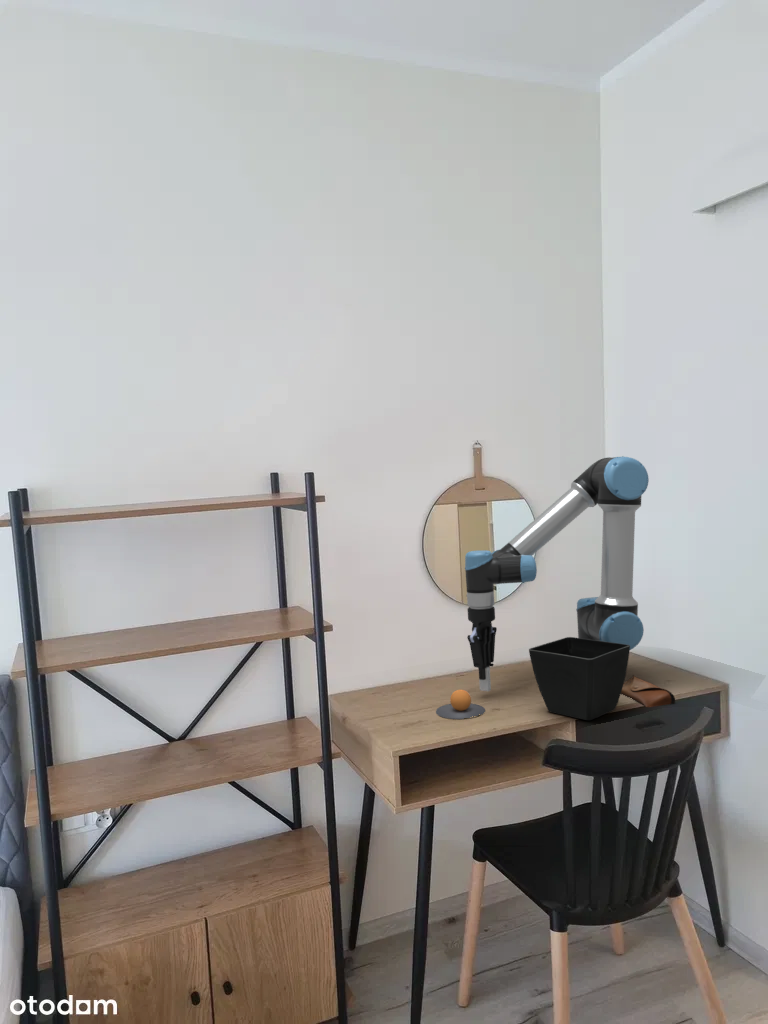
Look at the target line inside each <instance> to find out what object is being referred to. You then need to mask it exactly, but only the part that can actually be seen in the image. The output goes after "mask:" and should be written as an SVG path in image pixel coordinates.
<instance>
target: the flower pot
mask: <svg viewBox="0 0 768 1024" xmlns="http://www.w3.org/2000/svg"><path fill="white" fill-rule="evenodd" d="M630 651H631V650H630V645H627V644H620V643H613V642H605V641H598V640H590V639H583V638H578V637H575V636H574V637H572V636H566V637H564V638H559V639H557V640H553V641H549V642H547V643H546V642H545V643H544V644H540V645H537V646H535V647H530V648H528V653H529V659H530V663H531V666H532V671H533V673H534V678H535V680H536V683H537V684H536V685H537V687H538V689H539V692H540V694H541V697H542V699H543V700H542V701H543V702H544V705H545V707H546V708H547V711H548V712H549V713H554V714H557V715H561V716H562V715H563V716H566V717H571V718H576V719H580V720H585V721H592V720H594V719H596V718H599V717H602V716H603V715H605V714H608V713H611V712H613V711H614V710H616V708H617V706H618V704H619V699H620V697H621V695H622V694H621V691H622V687H623V684H624V682H625V679H626V675H627V671H628V670H627V669H628V663H629V656H630Z"/></svg>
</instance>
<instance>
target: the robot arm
mask: <svg viewBox="0 0 768 1024" xmlns="http://www.w3.org/2000/svg"><path fill="white" fill-rule="evenodd" d="M649 479H650V478H649V474H648V471H647V469H646V466H645V465H643V463H641V462H640V461H639V460H638V459H636V458H633V457H628V456H624V455H622V456H615V457H614V456H613V457H604V458H601V459H599V460H596V461H595V462H593V463H592V464H591V465H589V466H588V467H587V468H586V469H584V471H583V472H581V474H580V475H579V476H578V477H577V478H575V479H574V480H573V481H572V482H571V483H570V488H569V489H568V490H567V491H566V492H564V493H563V494H562V495H561V496H560V497H559V498H557V499H556V500H555V501H554V502H553V503H552V504H551V505H550V506H549V507H547V508H546V509H545V510H544V511H542V513H541V514H540V515H538V516H537V517H536V518H535V519H533V521H532V522H530V523H529V524H528V525H527V526H526V527H524V528H523V529H522V530H521V531H520V532H519V533H518V534H517V535H515V536H514V537H513V538H512V539H511V540H510V541H508V542H507V543H506V544H505V545H504V546H502V548H500V549H497V550H494V551H490V550H486V549H483V550H471V551H468V552H467V553H466V554H465V559H464V560H465V561H464V562H465V564H464V565H465V566H464V571H465V583H466V596H465V597H466V601H467V602H466V603H467V606H468V608H467V619H468V620H467V621H469V622H471V623H472V626H471V631H472V632H471V634H467V638H466V639H467V641H468V643H469V647H470V653H471V659H472V663H473V667H474V668H478V680H479V681H478V683H479V684H478V685H479V690H480V691H483V692H490V691H491V689H492V688H491V687H492V684H491V670H490V669H491V667H493V666H494V661H495V649H496V648H495V647H496V645H495V644H496V634H497V627H495V626H493V623H492V622H493V621H495V620H496V609H495V606H494V605H495V594H494V593H495V591H494V589H495V588H494V587H495V586H494V585H500V584H501V585H502V584H504V585H505V584H517V583H518V584H519V583H523V584H525V583H530V582H533V581H535V580H536V578H537V572H538V571H537V563H536V562H537V561H536V560H535V558H534V555H535V554H536V553H537V552H538V551H539V550H541V549H542V548H543V547H544V546H545V545H546V544H547V543H549V542H550V541H551V540H552V539H553V538H554V537H555V536H557V535H558V534H559V533H561V531H562V530H564V529H565V528H566V527H567V526H568V525H570V524H571V523H572V522H573V521H574V520H575V519H577V517H578V516H580V515H581V514H582V513H583V512H584V511H586V510H587V509H588V508H594V507H595V506H596V505H598V506H599V508H600V509H602V540H601V541H602V544H601V545H602V546H601V547H602V548H601V573H600V575H601V576H600V579H601V580H600V595H599V596H593V597H585V598H584V597H583V598H582V597H581V598H579V599H578V600H577V602H576V616H577V617H576V619H577V634H578V635H577V638H583V639H590V640H598V641H605V642H613V643H620V644H627V645H630V651H631V650H633V649H634V648H635V647H637V646H638V645H639V644H640V643H641V640H642V639H643V636H644V624H643V622H642V620H641V619H640V617H639V616H638V611H639V603H638V601H637V600H636V599H635V598H634V597H633V591H634V589H633V588H634V587H633V586H634V584H633V583H634V560H635V559H634V556H635V555H634V554H635V529H636V528H635V527H636V526H635V525H636V524H635V523H636V512H637V510H638V509H640V507H642V495H644V494H645V492H646V491H647V489H648V485H649Z"/></svg>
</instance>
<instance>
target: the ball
mask: <svg viewBox="0 0 768 1024" xmlns="http://www.w3.org/2000/svg"><path fill="white" fill-rule="evenodd" d="M449 702H450V704H451V705H452V707H453V708H454V709H456V710H458V711H464V710H466V709H467V708H468V707H469V706H470V704H471V703H472V697H471V695H470V693H469V692H468V691H466V690H465V689H457V690H455V691H453V692H452V694H451V695H450V701H449Z"/></svg>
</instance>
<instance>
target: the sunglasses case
mask: <svg viewBox="0 0 768 1024" xmlns="http://www.w3.org/2000/svg"><path fill="white" fill-rule="evenodd" d="M622 694H623V695H622ZM620 695H622V696H624V695H625V697H626V696H627V697H626V698H628V697H630V698H632V699H633V701H634V700H635V702H636V703H639V704H640V705H642V706H643V707H646V708H651V707H652V708H653V707H659V706H666V705H674V704H675V702H676V698H675V696H674V694H673V693H672V692H671V691H669V690H668V689H665V688H663V687H660V686H658V685H654V684H653V683H651V682H649V681H647V680H643V679H641V678H639V677H637V676H635V674H633V675H632V677H630V678H629V679H628V680H626V681H624V684H623V687H622V691H621V694H620ZM630 698H629V699H630ZM632 699H631V700H632Z"/></svg>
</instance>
